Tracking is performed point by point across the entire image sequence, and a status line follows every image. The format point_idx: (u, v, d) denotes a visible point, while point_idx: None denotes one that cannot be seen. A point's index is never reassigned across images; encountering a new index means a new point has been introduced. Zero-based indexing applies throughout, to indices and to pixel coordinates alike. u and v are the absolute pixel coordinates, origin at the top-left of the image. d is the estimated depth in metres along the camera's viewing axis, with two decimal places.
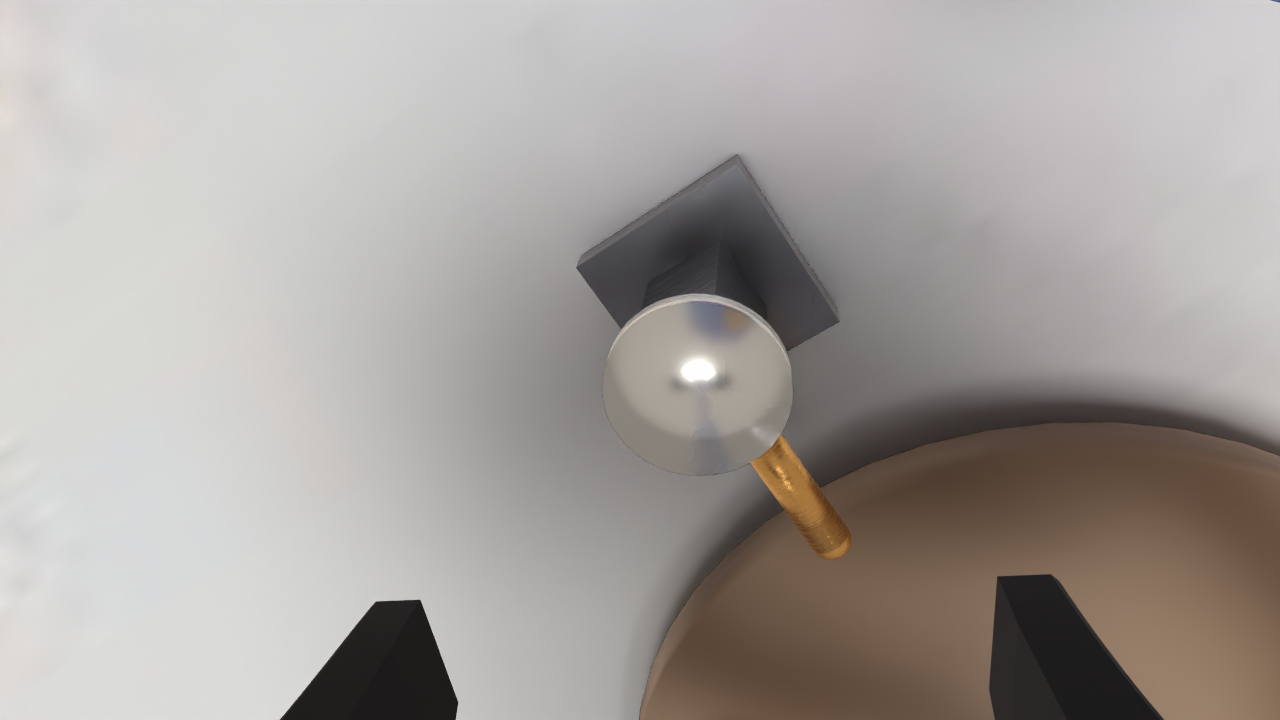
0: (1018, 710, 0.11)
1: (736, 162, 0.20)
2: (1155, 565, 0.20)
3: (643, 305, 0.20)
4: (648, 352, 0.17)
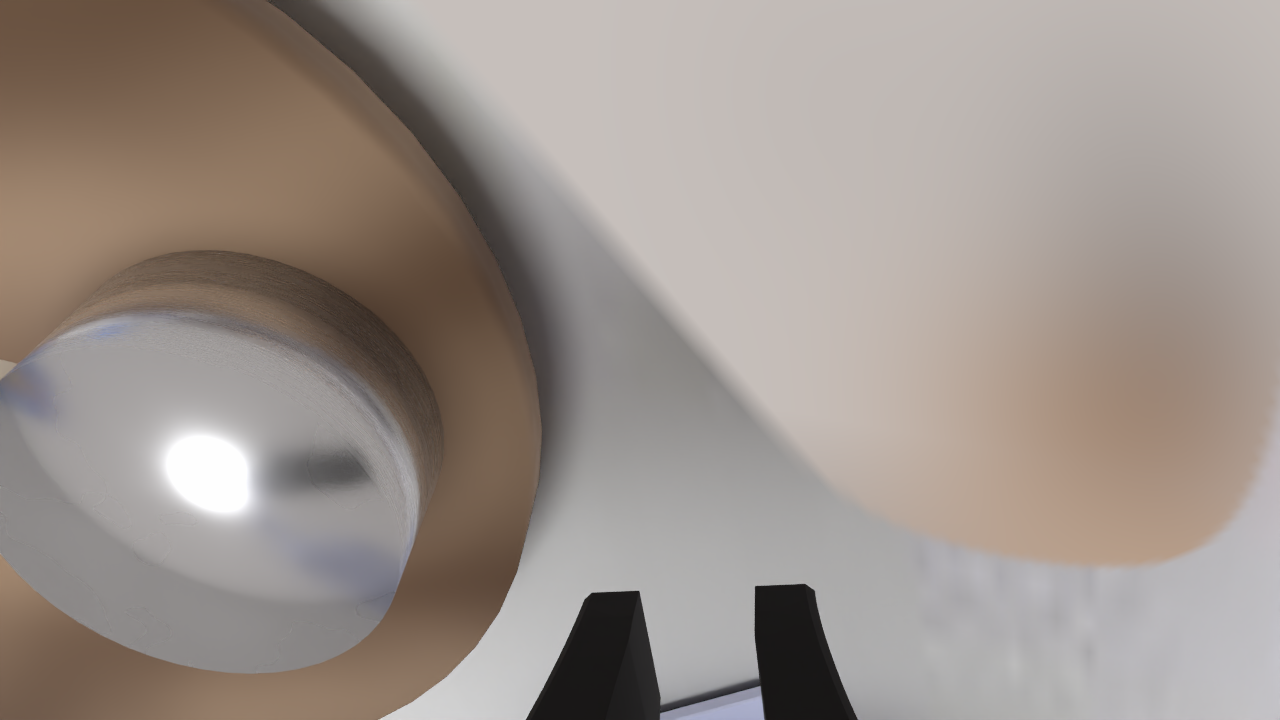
0: (764, 716, 0.11)
1: None
2: None
3: None
4: None
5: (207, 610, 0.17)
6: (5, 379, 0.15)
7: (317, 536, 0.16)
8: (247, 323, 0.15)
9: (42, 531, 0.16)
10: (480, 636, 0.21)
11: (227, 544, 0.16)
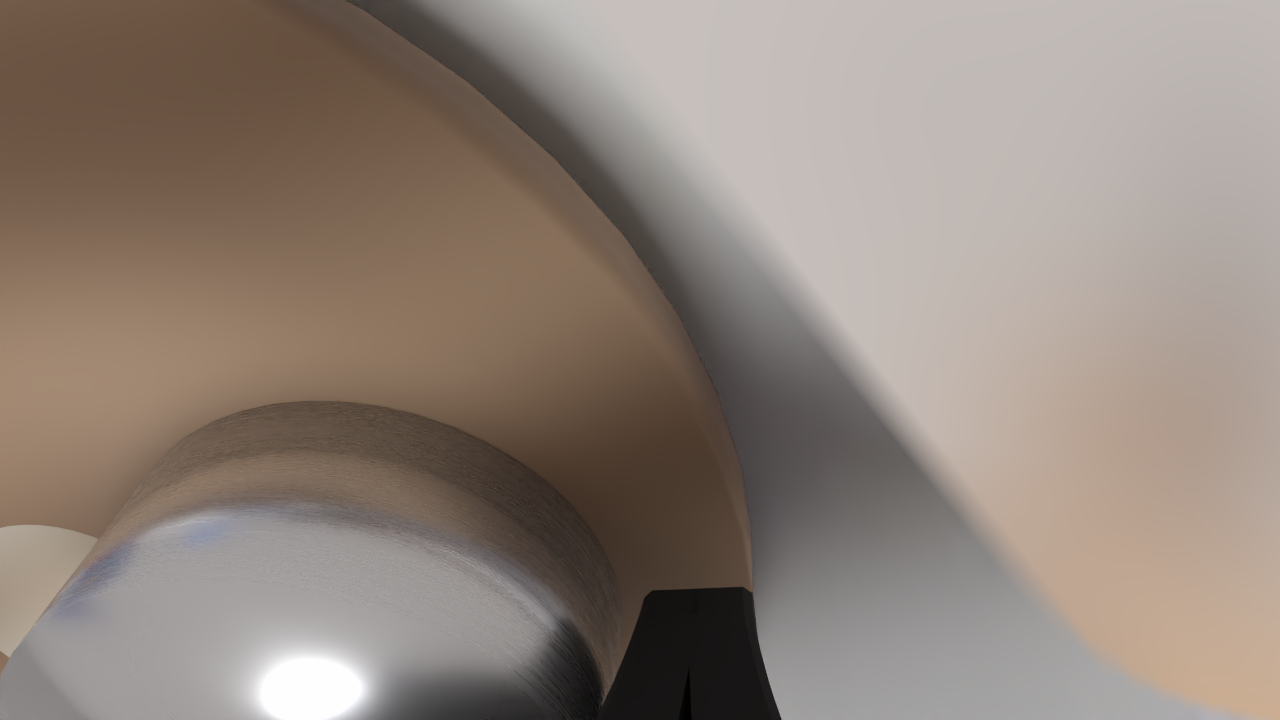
0: None
1: None
2: None
3: None
4: None
5: None
6: (59, 616, 0.10)
7: None
8: (397, 524, 0.11)
9: None
10: None
11: None
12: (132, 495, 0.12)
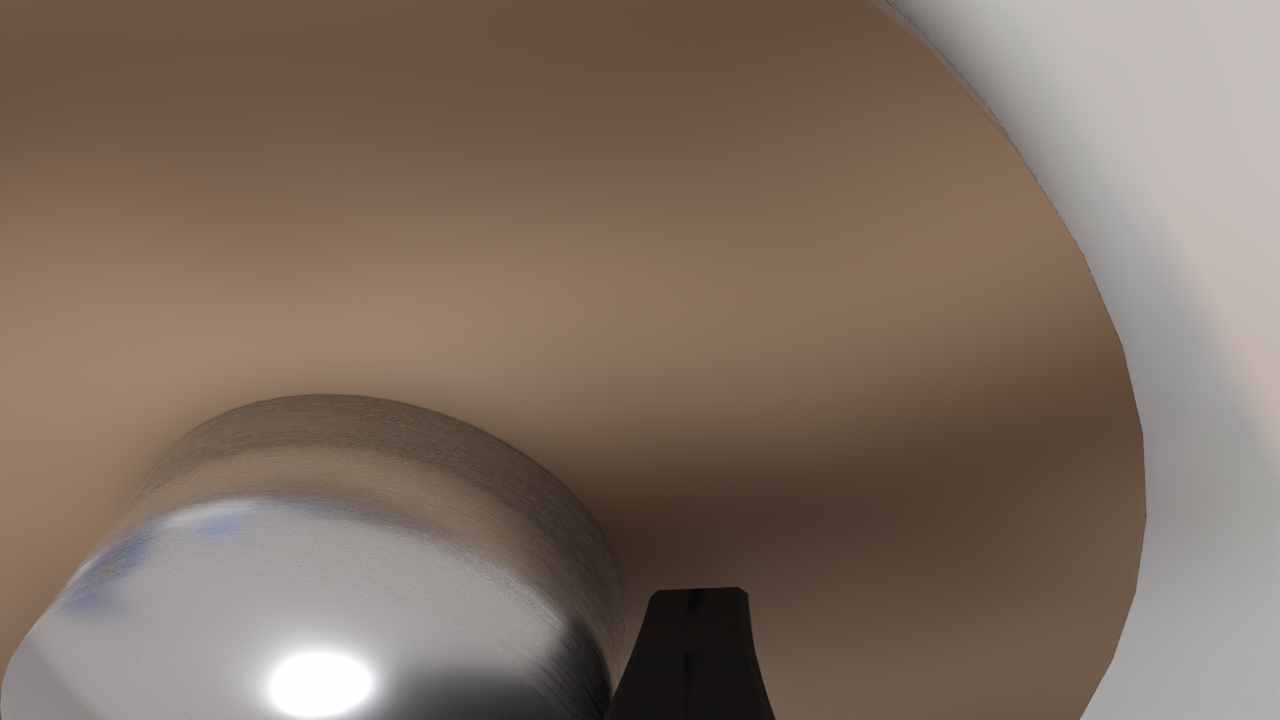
0: None
1: None
2: None
3: None
4: None
5: None
6: (73, 605, 0.10)
7: None
8: (417, 522, 0.11)
9: None
10: None
11: None
12: (142, 483, 0.12)
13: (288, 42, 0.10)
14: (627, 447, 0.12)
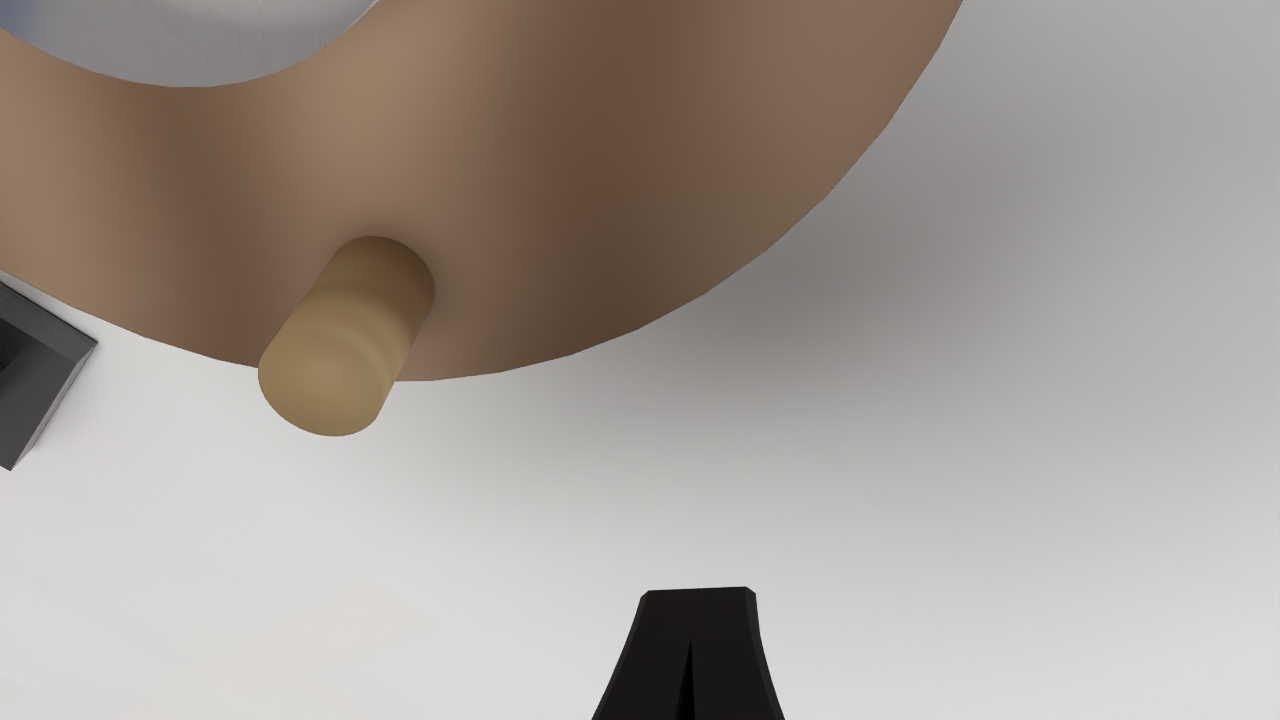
0: None
1: None
2: None
3: None
4: None
5: None
6: None
7: None
8: None
9: None
10: None
11: None
12: None
13: None
14: None
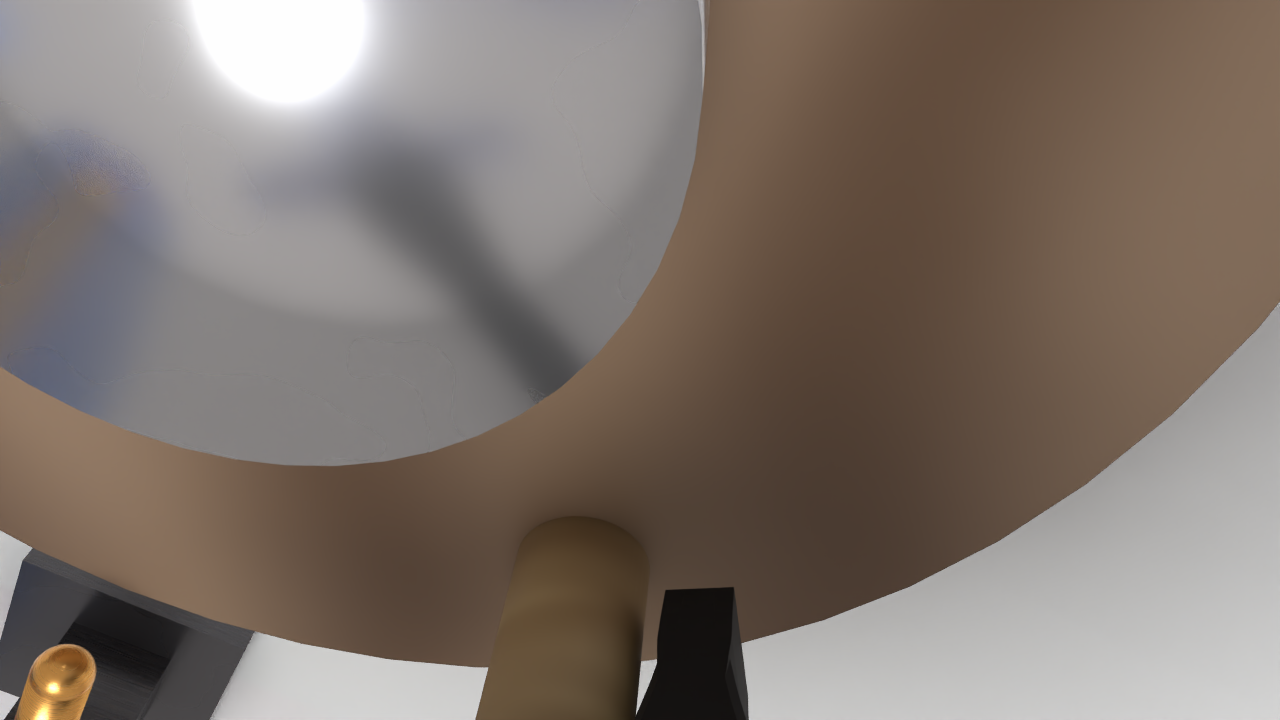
0: None
1: None
2: None
3: None
4: None
5: (422, 235, 0.07)
6: None
7: None
8: None
9: (104, 324, 0.08)
10: None
11: (272, 24, 0.07)
12: None
13: None
14: None
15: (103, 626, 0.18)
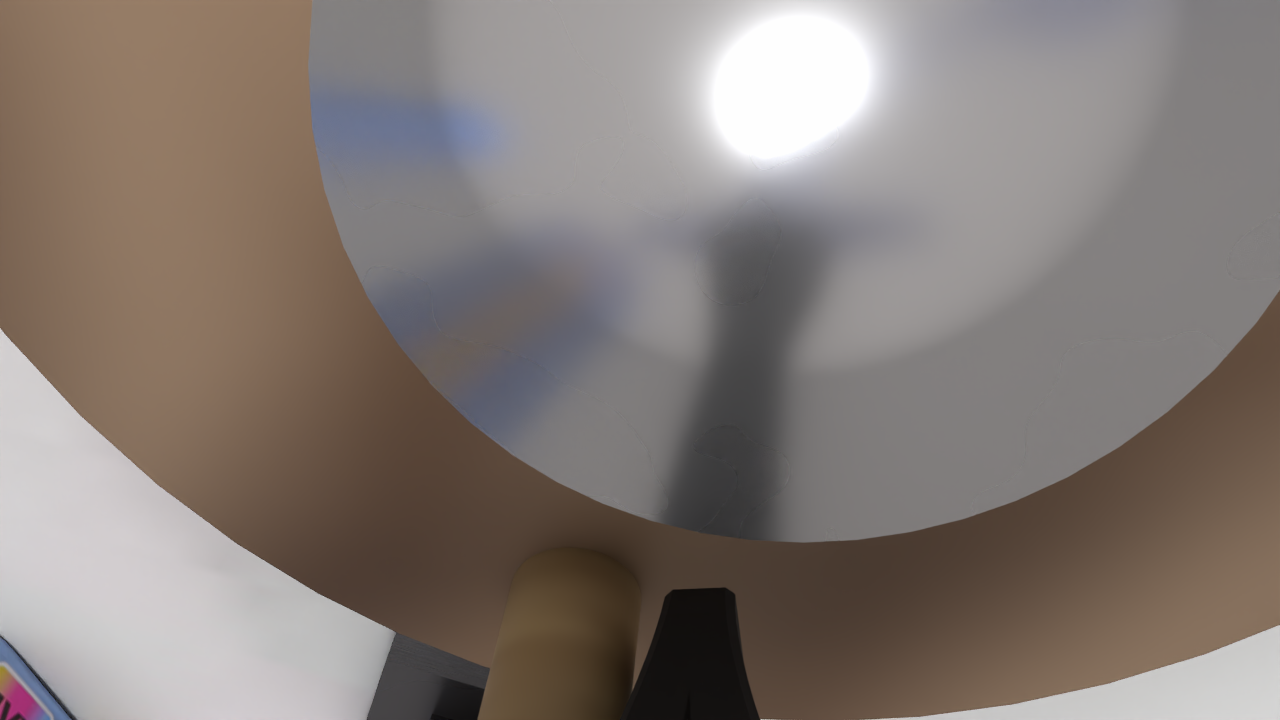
0: None
1: None
2: None
3: None
4: None
5: (866, 384, 0.08)
6: None
7: (1146, 60, 0.06)
8: None
9: (505, 293, 0.08)
10: None
11: (912, 178, 0.07)
12: None
13: None
14: None
15: (461, 715, 0.18)
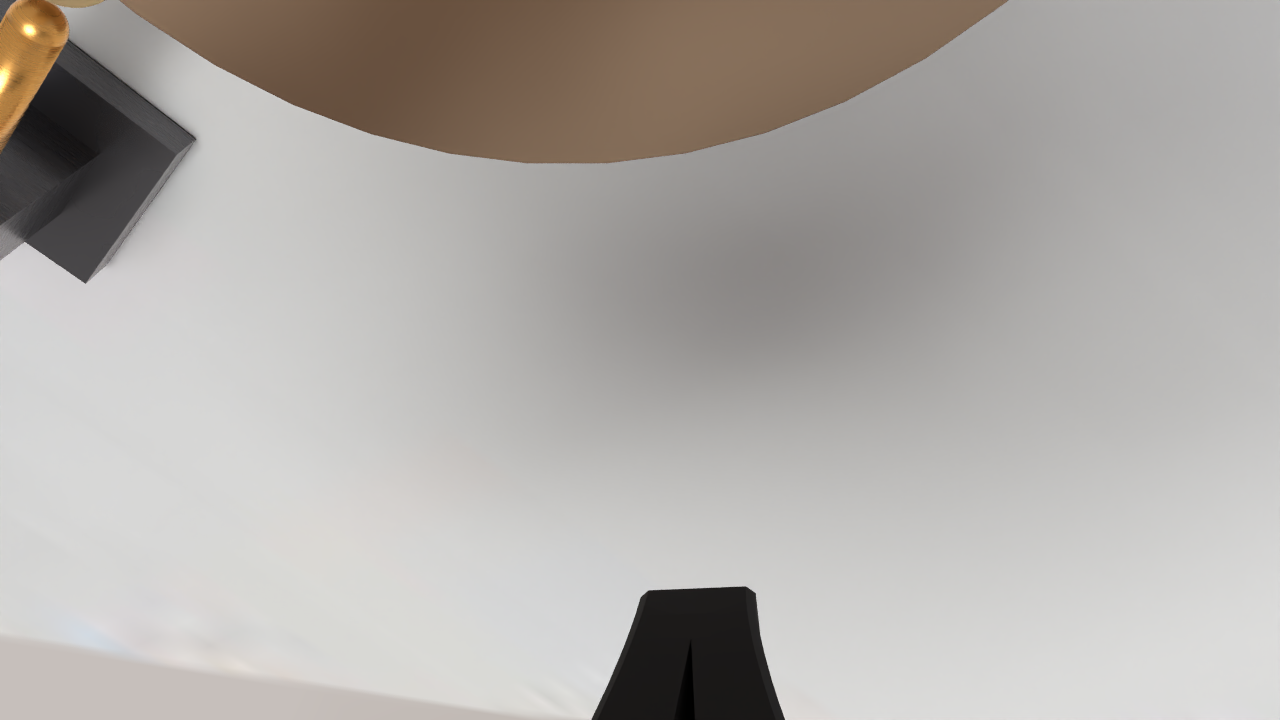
0: None
1: None
2: None
3: None
4: None
5: None
6: None
7: None
8: None
9: None
10: None
11: None
12: None
13: None
14: None
15: (40, 101, 0.19)
